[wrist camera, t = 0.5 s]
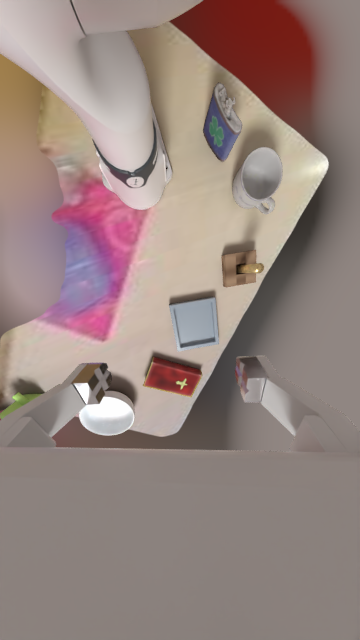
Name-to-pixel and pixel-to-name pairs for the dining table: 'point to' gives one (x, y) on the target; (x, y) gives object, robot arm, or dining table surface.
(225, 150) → the flask
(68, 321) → the dining table surface
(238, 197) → the teacup
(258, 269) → the pin
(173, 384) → the hardcover book
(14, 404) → the gearbox
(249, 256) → the pin block
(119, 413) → the serving bowl
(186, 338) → the tray
